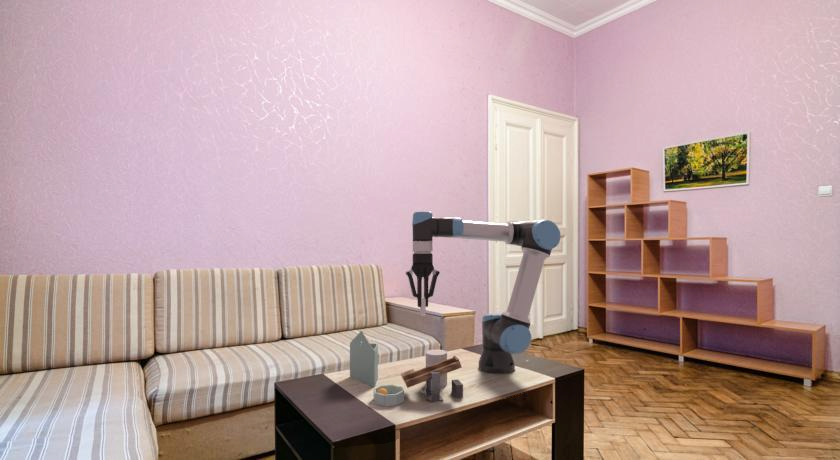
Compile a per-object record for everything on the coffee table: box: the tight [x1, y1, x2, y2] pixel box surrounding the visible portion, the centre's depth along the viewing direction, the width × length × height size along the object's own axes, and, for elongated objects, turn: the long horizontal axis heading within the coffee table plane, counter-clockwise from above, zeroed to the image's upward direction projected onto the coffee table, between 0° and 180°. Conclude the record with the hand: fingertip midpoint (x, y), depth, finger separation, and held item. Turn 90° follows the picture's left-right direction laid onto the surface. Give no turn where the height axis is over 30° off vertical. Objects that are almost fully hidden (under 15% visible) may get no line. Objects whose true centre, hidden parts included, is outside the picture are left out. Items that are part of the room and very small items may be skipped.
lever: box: [400, 355, 462, 388], centre depth 158 cm, size 20×13×3 cm
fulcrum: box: [422, 364, 444, 404], centre depth 155 cm, size 5×10×10 cm, turn 12°
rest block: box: [451, 378, 464, 399], centre depth 157 cm, size 2×6×4 cm, turn 12°
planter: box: [349, 330, 379, 388], centre depth 173 cm, size 16×8×20 cm, turn 41°
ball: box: [378, 388, 388, 395], centre depth 151 cm, size 4×4×4 cm
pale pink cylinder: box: [425, 349, 448, 388], centre depth 168 cm, size 8×8×12 cm
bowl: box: [373, 384, 405, 407], centre depth 152 cm, size 10×10×4 cm
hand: (422, 315), depth 166 cm, fingers closed
